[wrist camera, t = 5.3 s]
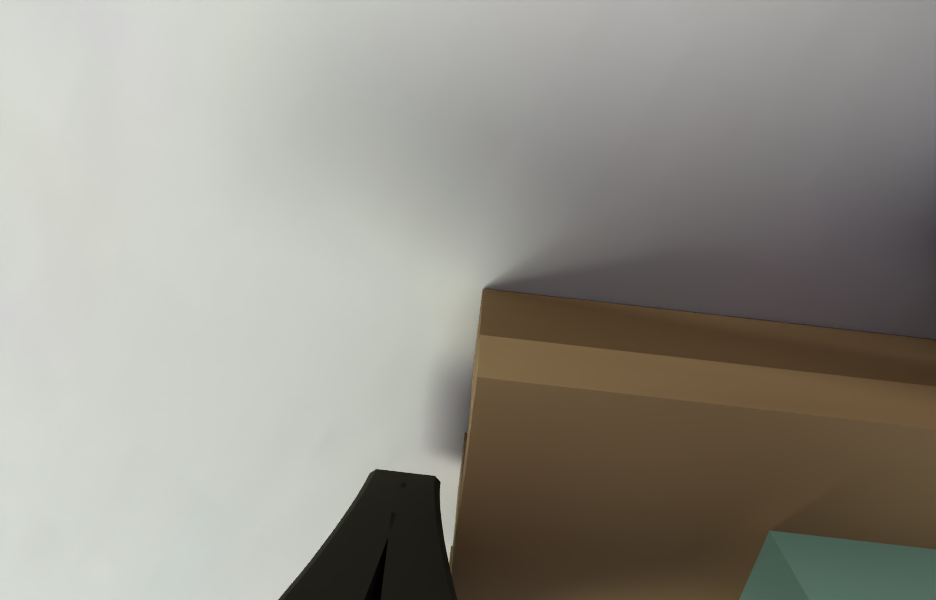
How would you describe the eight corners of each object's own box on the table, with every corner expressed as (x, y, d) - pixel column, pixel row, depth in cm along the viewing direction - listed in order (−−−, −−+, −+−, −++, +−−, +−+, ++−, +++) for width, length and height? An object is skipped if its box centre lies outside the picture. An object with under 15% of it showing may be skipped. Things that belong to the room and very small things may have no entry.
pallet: (945, 652, 13) (1062, 808, 11) (445, 595, 13) (431, 734, 11) (1145, 363, 10) (1390, 480, 7) (482, 288, 10) (477, 376, 7)
